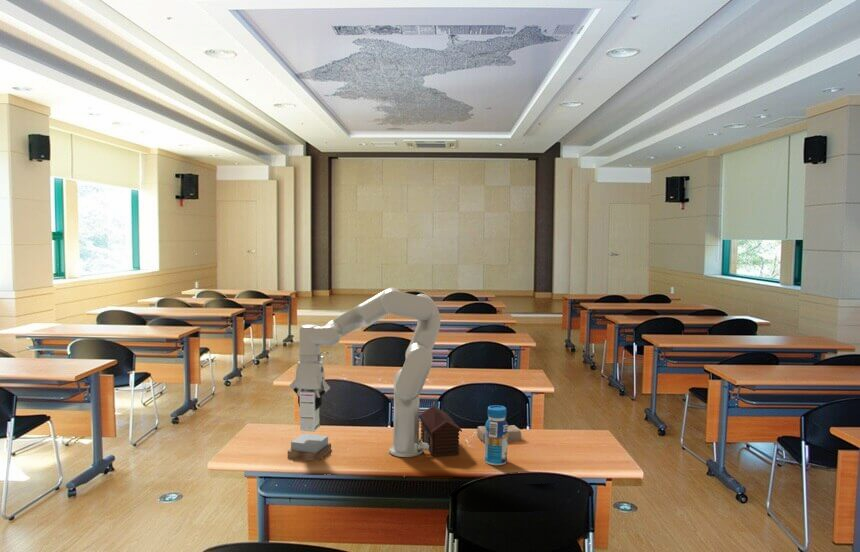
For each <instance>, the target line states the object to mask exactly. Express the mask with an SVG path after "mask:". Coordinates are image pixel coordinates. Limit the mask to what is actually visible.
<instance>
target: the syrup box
mask: <svg viewBox="0 0 860 552" xmlns="http://www.w3.org/2000/svg"><path fill="white" fill-rule="evenodd" d="M316 397H317V395H316V392H315V390H307V389H304V390H303V391H302V392H300V407H299V431H301V432H310V433H311V432H315V431H317V430H318V429H319V428H320V427H321V426H320V425H321V423H320V420H321V418H320V417H321V416H320V407H321V406H320V407H319V408H316Z"/></svg>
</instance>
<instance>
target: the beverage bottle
mask: <svg viewBox="0 0 860 552" xmlns="http://www.w3.org/2000/svg"><path fill="white" fill-rule="evenodd" d="M487 417H488V419H487V420H486V422H485V425H484V426H485V427H486V430H485V442H484V461H485V462H486V464H488V465H491V466H503V465H505V464H506V463H507V462H508V442H509V441H508V431H507V429H508V426H509V424H508V422H507V418H506V417H507V407H505V406H504V405H499V404H498V405H497V404H494V405H489V406H488V407H487Z"/></svg>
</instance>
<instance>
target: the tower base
mask: <svg viewBox="0 0 860 552" xmlns="http://www.w3.org/2000/svg"><path fill="white" fill-rule="evenodd" d="M331 450H332V442H328V444H327V445H326V446H325V447H323V448H322V449H321V450H320V451H318V452H317V453H310V452H303V451H295V450H291V448H289V450H287V458H289V459H299V460H306V461H316V462H319V461H320V460H321V459H322V458H323V457H324V456H325V455H327V454H328V453H329V452H330V451H331Z"/></svg>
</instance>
